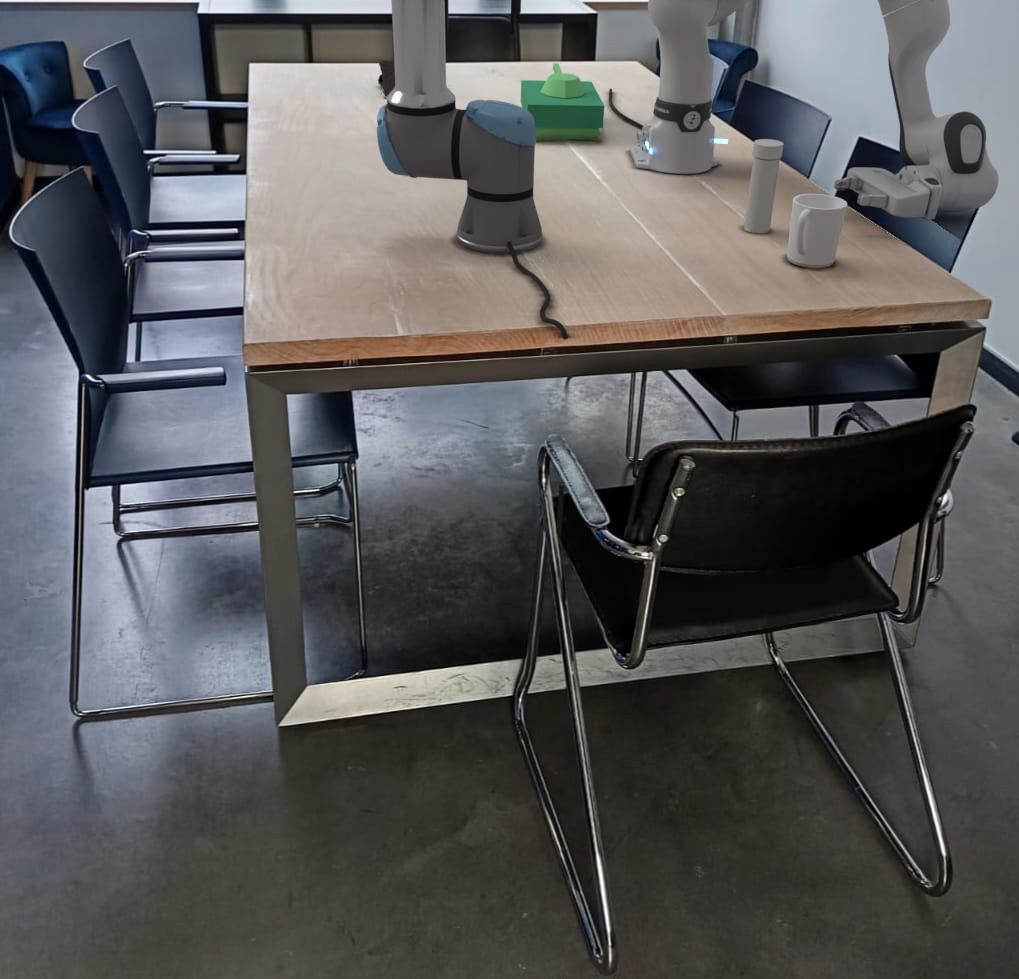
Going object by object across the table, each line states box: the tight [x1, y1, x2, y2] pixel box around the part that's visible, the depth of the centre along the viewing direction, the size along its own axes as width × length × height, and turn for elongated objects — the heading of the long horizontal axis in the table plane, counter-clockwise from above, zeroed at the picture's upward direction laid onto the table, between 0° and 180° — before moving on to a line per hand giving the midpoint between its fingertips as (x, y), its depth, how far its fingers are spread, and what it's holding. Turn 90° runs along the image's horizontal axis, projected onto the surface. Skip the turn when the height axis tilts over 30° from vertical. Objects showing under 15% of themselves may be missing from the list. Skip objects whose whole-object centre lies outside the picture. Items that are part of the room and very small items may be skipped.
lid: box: [752, 138, 785, 160], centre depth 196 cm, size 5×5×2 cm
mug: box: [786, 193, 848, 269], centre depth 186 cm, size 11×9×10 cm
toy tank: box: [520, 63, 605, 141], centre depth 267 cm, size 18×12×35 cm
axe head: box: [377, 59, 395, 97], centre depth 299 cm, size 18×8×15 cm
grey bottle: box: [743, 156, 781, 234], centre depth 200 cm, size 5×5×16 cm
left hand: (479, 31), depth 223 cm, fingers open, 13 cm apart
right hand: (847, 192), depth 205 cm, fingers open, 8 cm apart
